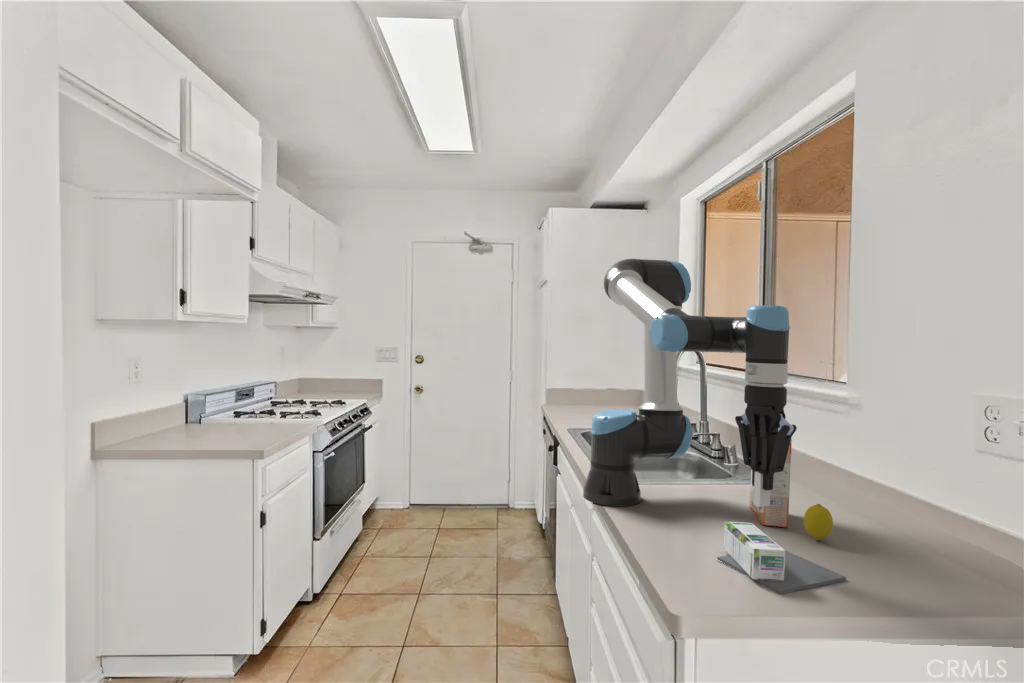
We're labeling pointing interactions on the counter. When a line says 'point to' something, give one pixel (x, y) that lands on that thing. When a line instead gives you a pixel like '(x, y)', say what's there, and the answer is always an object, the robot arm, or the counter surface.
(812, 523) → the lemon
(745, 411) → the robot arm
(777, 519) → the cracker box
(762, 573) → the syrup box
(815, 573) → the mat
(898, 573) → the counter surface
